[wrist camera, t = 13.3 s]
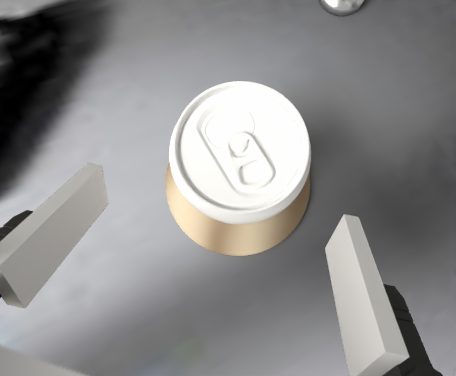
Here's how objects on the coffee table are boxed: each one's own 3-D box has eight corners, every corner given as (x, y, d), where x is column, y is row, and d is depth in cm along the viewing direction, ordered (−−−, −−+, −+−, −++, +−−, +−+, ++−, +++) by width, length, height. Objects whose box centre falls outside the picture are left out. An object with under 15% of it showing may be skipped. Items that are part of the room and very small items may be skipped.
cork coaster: (317, 128, 27) (319, 126, 26) (296, 267, 25) (298, 269, 24) (183, 104, 27) (182, 101, 27) (152, 239, 25) (151, 239, 25)
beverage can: (256, 128, 26) (277, 49, 14) (292, 202, 25) (347, 183, 13) (181, 161, 26) (139, 108, 14) (215, 238, 25) (200, 251, 13)
